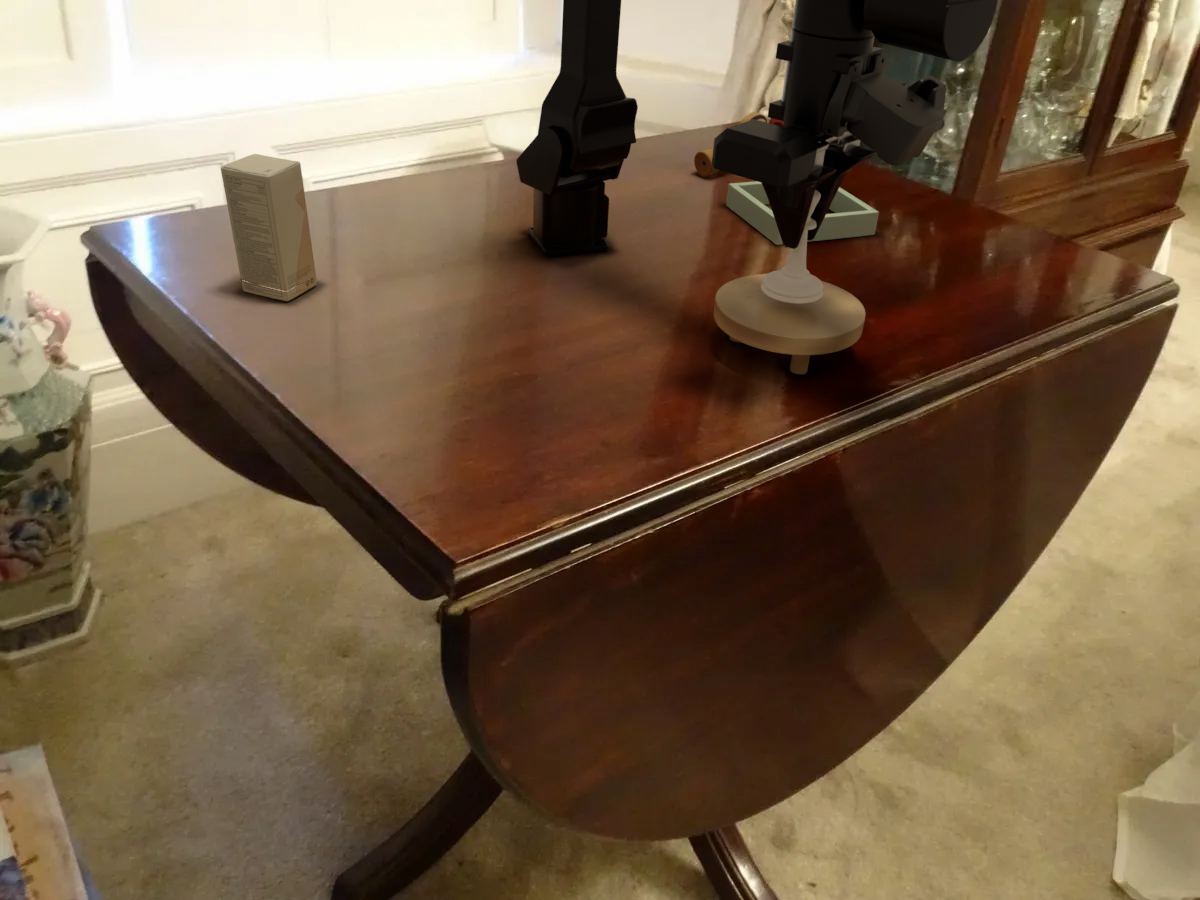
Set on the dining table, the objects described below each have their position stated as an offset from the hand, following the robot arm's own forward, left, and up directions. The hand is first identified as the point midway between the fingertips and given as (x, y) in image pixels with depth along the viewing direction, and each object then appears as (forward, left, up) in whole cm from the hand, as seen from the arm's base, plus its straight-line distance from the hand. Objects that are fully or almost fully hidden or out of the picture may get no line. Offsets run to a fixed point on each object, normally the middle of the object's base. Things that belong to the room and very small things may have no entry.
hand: (798, 243), depth 80 cm
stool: (0, 0, -9) cm, 9 cm away
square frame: (+16, +26, -9) cm, 32 cm away
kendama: (+20, +44, -9) cm, 49 cm away
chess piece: (0, 0, -4) cm, 4 cm away
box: (-38, +22, -9) cm, 45 cm away
